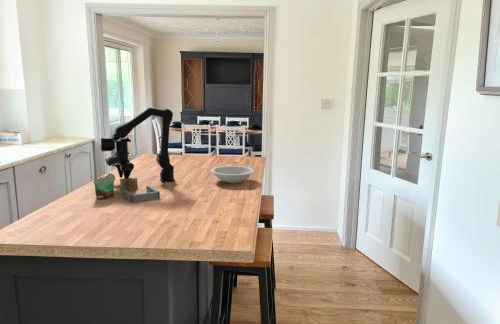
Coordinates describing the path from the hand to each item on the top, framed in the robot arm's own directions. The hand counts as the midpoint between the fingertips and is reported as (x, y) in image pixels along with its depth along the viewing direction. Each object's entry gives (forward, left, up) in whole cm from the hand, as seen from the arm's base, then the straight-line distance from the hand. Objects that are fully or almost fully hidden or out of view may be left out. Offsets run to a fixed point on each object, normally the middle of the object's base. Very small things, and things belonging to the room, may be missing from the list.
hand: (123, 179), depth 195 cm
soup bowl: (-53, +25, -3) cm, 59 cm away
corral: (0, +27, -3) cm, 27 cm away
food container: (+13, +20, -3) cm, 24 cm away
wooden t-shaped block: (0, +12, -3) cm, 12 cm away
